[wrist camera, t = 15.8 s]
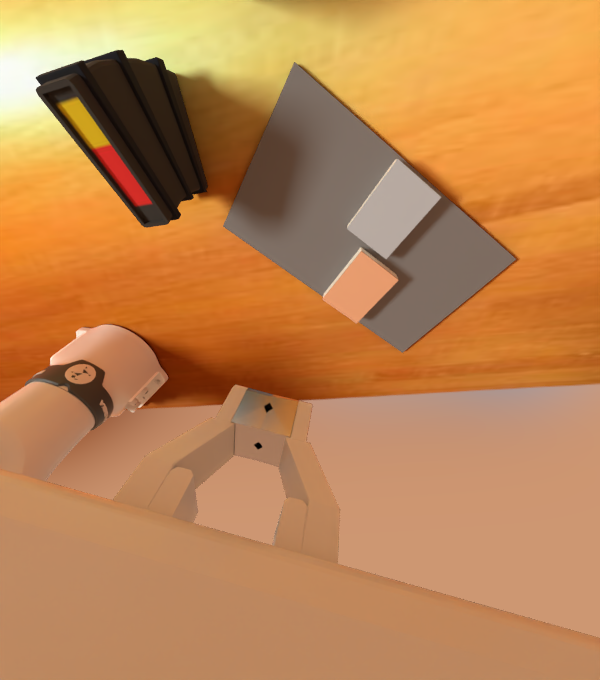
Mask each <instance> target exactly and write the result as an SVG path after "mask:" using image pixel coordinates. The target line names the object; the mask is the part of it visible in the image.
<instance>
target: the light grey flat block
mask: <svg viewBox="0 0 600 680" xmlns="http://www.w3.org/2000/svg"><path fill="white" fill-rule="evenodd" d="M440 198H441V196H439V195H438V194H437V193H436V192H435V191H434V190H433V189H432V188H430V187H429V186H428V185H427V184H426V183H425V182H424V181H422V180H421V179H420V178H419V177H418V176H417V175H416V174H415V173H413V172H412V171H411V170H410V169H409V168H408V167H407V166H406V165H404V164H403V163H402V162H401V161H400V160H399V159H395V161H394V162H393V163H392V165H391V166H390V167H389V169H388V170H387V172H386V173H385V174H384V176H383V177H382V178H381V180H380V181H379V183H378V184H377V185H376V187H375V188H374V190H373V191H372V192H371V194H370V195H369V196H368V198H367V199H366V201H365V202H364V203H363V205H362V206H361V207H360V209H359V210H358V212H357V213H356V214H355V216H354V217H353V218H352V220H351V221H350V223H349V224H348V225H347V229H348V230H349V231H350V232H352V233H353V234H354V235H356V236H357V237H358V238H359V239H361V240H362V241H363V242H364V243H366V244H367V245H368V246H370V247H371V248H372V249H373V250H375V251H376V252H377V253H379V254H380V255H381V256H382V257H384V258H385V259H387V258H388V257H389V256H390V255H391V253H392V252H393V251H394V250H395V249H396V248H397V247H398V246H399V244H400V243H401V242H402V241H403V240H404V239H405V238H406V237H407V235H408V234H409V233H410V232H411V231H412V230H413V229H414V228H415V226H416V225H417V224H418V223H419V222H420V221H421V220H422V219H423V217H424V216H425V215H426V214H427V213H428V212H429V211H430V210H431V208H432V207H433V206H434V205H435V204H436V203H437V202H438V201H439V199H440Z"/></svg>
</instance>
